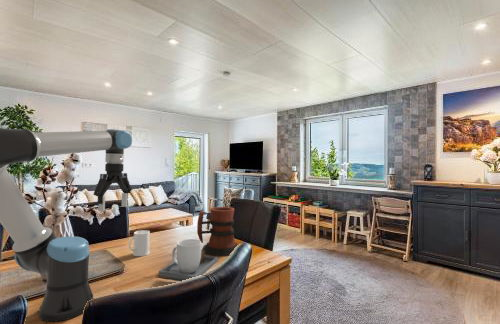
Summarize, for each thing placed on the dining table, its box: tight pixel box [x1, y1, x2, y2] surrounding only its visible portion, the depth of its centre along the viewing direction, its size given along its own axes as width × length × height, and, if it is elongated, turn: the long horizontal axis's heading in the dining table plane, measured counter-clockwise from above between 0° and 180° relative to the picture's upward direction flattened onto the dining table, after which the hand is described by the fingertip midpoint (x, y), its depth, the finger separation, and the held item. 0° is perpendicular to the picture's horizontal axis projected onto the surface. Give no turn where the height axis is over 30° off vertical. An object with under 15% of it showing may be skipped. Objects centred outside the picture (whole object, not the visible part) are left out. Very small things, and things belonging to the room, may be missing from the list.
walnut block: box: [200, 249, 206, 264], centre depth 130 cm, size 5×5×5 cm
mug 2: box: [171, 238, 202, 274], centre depth 119 cm, size 15×11×13 cm
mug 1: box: [128, 229, 151, 257], centre depth 142 cm, size 12×8×12 cm
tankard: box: [196, 206, 239, 257], centre depth 149 cm, size 22×25×25 cm
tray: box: [158, 255, 219, 282], centre depth 123 cm, size 24×18×3 cm
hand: (113, 208), depth 120 cm, fingers open, 13 cm apart
